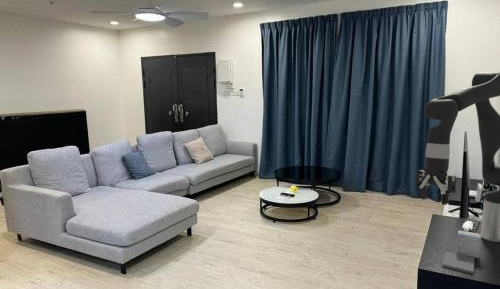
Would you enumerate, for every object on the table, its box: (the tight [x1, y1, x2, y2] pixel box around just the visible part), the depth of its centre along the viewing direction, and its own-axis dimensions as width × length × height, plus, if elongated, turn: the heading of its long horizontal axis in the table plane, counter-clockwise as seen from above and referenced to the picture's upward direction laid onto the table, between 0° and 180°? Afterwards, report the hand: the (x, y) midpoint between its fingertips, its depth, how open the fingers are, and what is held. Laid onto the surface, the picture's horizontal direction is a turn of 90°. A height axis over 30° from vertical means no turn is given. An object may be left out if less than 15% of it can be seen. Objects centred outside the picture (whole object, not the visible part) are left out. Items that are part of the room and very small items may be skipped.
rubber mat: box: [441, 251, 476, 275], centre depth 138 cm, size 12×10×1 cm
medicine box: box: [455, 230, 482, 259], centre depth 145 cm, size 8×4×9 cm, turn 59°
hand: (433, 201), depth 129 cm, fingers open, 8 cm apart
